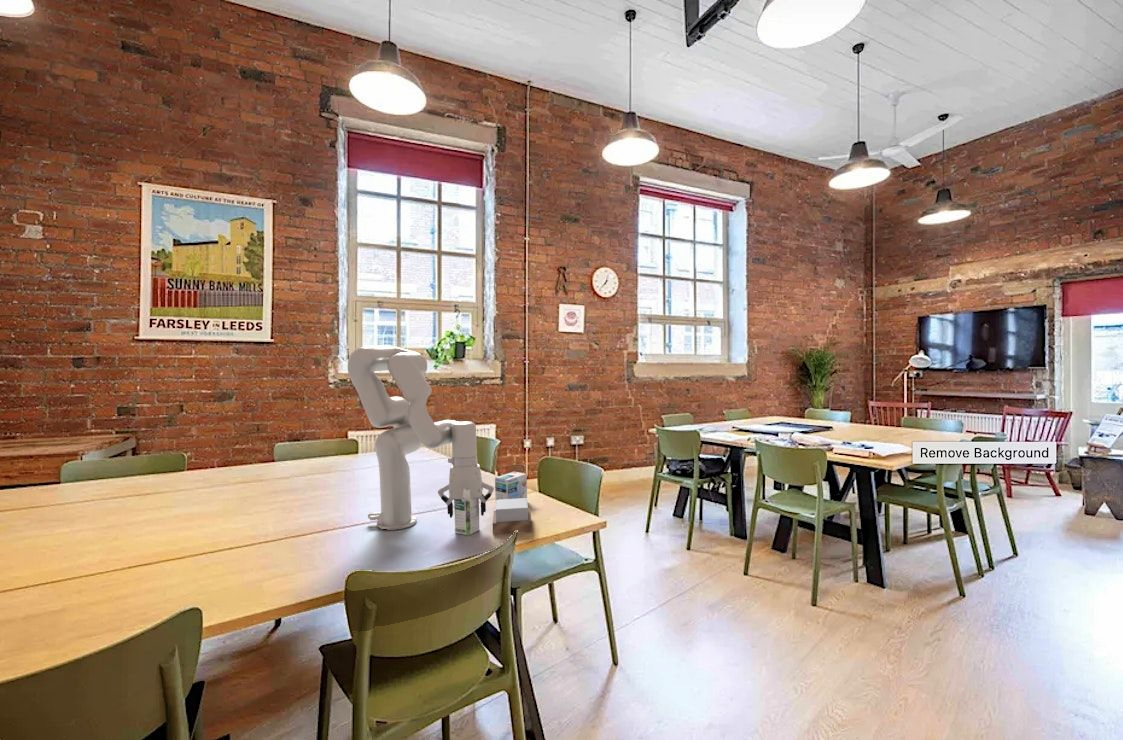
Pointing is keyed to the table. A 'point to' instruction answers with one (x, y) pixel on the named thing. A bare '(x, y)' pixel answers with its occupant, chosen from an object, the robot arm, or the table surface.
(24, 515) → the table surface
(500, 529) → the walnut slab
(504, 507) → the grey slab
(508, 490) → the light bulb box
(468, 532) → the syrup box
